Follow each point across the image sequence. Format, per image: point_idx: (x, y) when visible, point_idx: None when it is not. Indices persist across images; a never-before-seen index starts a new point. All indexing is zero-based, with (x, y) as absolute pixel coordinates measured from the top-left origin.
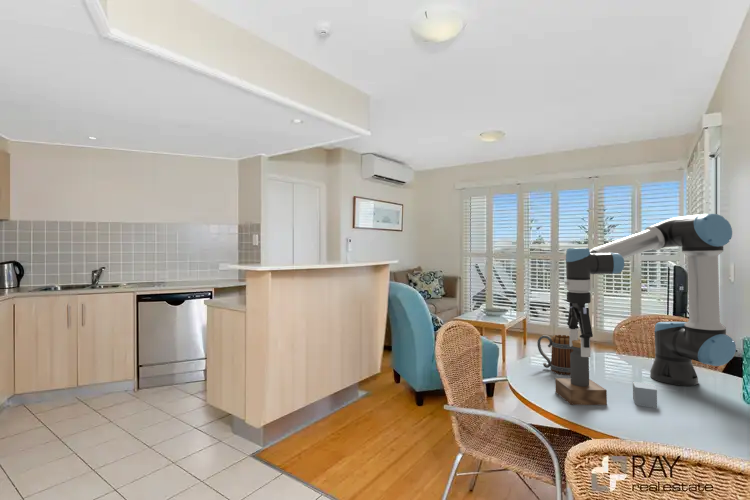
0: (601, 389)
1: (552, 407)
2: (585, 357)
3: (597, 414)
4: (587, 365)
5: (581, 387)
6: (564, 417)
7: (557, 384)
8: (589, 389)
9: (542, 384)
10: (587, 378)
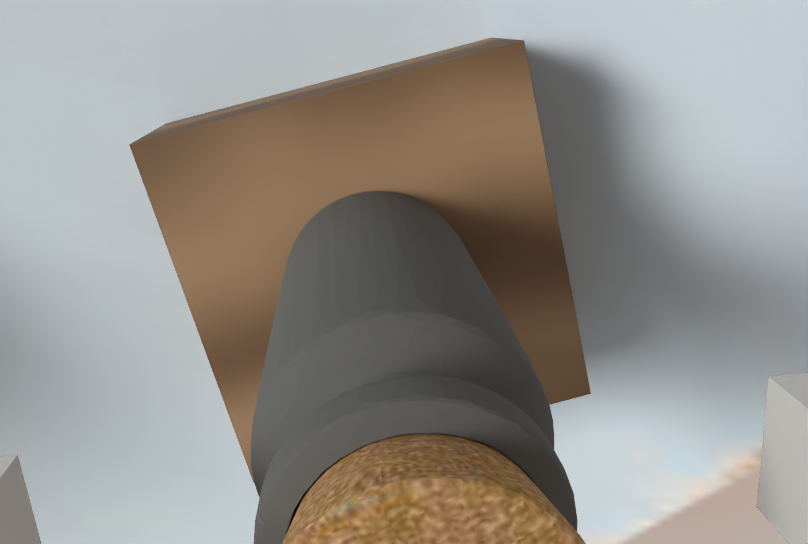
0: (518, 93)
1: (627, 466)
2: (536, 375)
3: (721, 174)
4: (483, 291)
5: (492, 283)
6: None
7: None
8: (540, 218)
9: (84, 494)
10: (458, 240)
